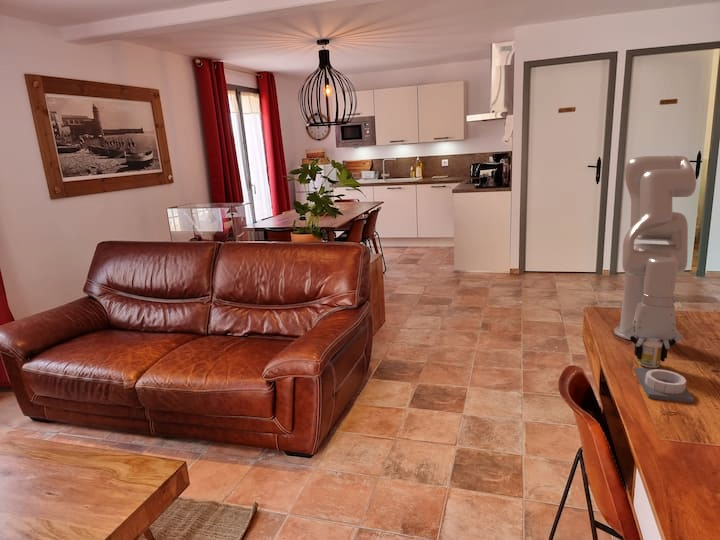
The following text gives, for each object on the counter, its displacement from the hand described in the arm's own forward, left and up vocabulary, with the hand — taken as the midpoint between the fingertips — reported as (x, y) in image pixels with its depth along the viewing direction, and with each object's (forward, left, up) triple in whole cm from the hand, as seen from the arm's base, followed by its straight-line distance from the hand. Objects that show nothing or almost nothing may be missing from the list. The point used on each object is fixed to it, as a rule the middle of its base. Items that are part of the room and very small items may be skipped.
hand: (649, 358), depth 143 cm
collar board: (+14, 0, -2) cm, 14 cm away
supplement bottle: (0, 0, -2) cm, 2 cm away
